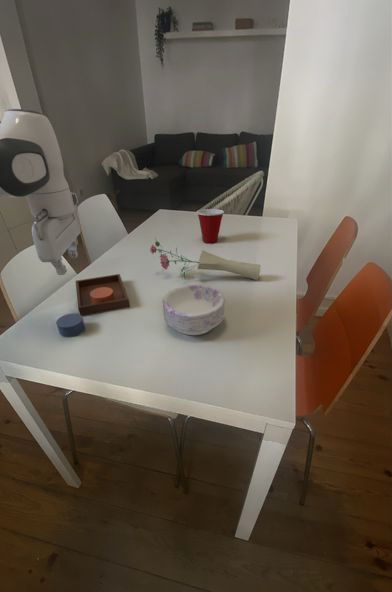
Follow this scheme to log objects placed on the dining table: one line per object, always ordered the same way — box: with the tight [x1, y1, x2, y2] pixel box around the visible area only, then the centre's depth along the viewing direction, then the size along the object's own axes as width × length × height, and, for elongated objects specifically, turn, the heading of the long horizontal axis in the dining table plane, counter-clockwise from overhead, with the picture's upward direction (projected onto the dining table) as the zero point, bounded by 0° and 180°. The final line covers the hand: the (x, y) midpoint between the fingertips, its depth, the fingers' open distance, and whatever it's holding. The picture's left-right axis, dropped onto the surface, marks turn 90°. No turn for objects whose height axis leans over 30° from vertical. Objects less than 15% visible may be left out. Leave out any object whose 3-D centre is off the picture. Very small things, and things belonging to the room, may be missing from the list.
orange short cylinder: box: [90, 287, 115, 304], centre depth 91 cm, size 6×6×3 cm
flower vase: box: [149, 237, 262, 281], centre depth 102 cm, size 12×12×35 cm
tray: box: [75, 273, 131, 317], centre depth 94 cm, size 18×14×3 cm
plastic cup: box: [196, 208, 225, 245], centre depth 127 cm, size 11×11×12 cm
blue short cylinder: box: [55, 312, 86, 338], centre depth 80 cm, size 6×6×3 cm
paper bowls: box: [162, 284, 226, 336], centre depth 80 cm, size 15×15×8 cm
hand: (68, 265), depth 76 cm, fingers open, 8 cm apart
